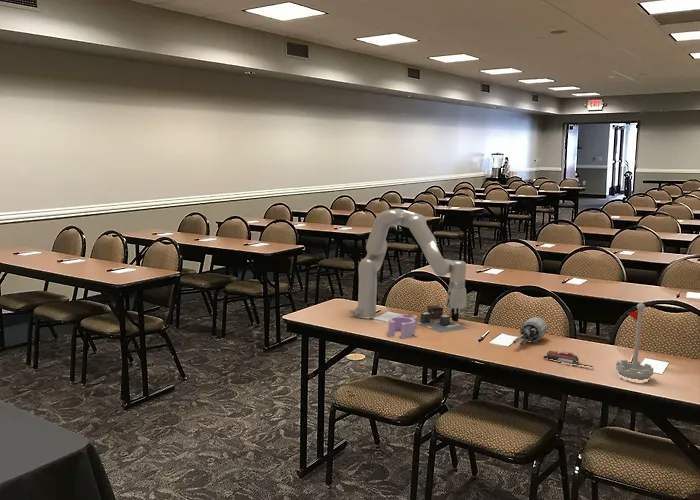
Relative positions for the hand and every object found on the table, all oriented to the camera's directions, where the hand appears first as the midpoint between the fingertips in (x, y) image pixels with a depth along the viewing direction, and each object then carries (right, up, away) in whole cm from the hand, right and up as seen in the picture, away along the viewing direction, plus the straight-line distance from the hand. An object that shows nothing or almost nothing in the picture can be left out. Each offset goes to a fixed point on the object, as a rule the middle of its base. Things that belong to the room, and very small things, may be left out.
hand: (454, 320), depth 300 cm
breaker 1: (-15, -1, +1) cm, 15 cm away
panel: (-8, -3, -5) cm, 10 cm away
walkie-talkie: (+38, -12, -52) cm, 66 cm away
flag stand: (+58, -14, -69) cm, 91 cm away
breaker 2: (-6, -2, -3) cm, 7 cm away
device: (+29, -8, -27) cm, 40 cm away
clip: (-28, -4, -16) cm, 32 cm away
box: (-9, -1, +11) cm, 14 cm away
